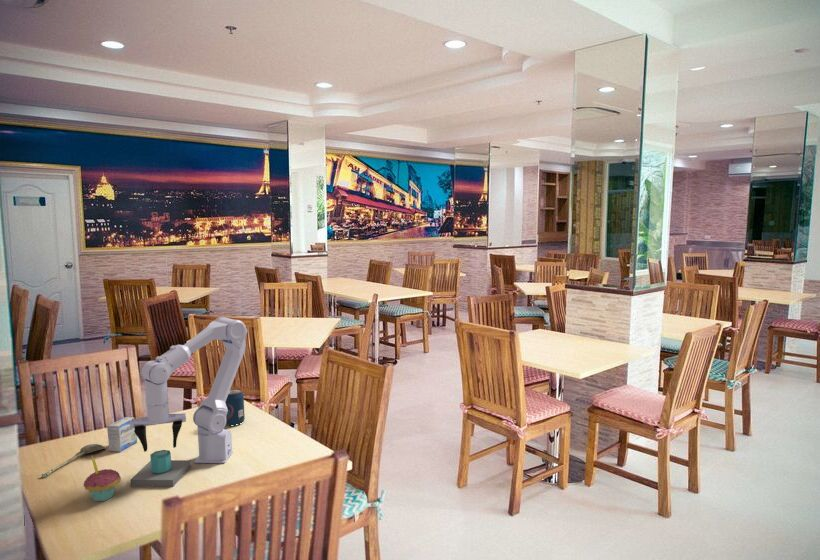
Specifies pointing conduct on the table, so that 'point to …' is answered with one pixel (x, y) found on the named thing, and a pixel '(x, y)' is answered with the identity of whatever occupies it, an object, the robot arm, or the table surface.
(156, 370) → the robot arm
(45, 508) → the table surface
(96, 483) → the cupcake
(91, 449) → the soupspoon
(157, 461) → the cap
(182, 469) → the stud stand
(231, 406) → the soda can
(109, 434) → the medicine box
